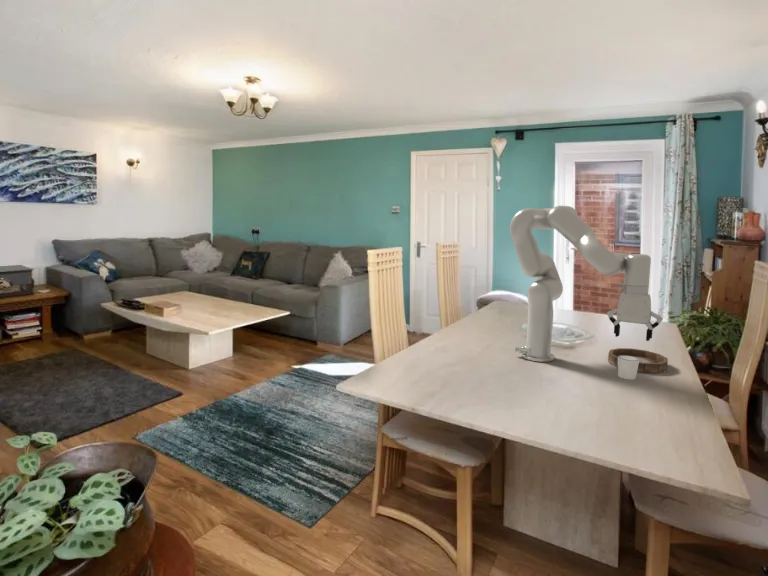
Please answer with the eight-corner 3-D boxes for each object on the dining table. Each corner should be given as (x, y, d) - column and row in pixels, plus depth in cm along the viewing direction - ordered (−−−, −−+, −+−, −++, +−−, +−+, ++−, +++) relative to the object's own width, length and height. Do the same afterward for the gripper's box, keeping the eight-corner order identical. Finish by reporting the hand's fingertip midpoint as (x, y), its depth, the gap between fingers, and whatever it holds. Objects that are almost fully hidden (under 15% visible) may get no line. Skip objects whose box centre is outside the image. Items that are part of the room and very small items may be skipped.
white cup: (640, 380, 159) (642, 361, 158) (619, 379, 161) (621, 360, 160) (633, 374, 166) (635, 355, 165) (613, 372, 167) (615, 354, 166)
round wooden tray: (623, 372, 167) (624, 363, 167) (599, 356, 187) (599, 347, 186) (678, 373, 167) (679, 364, 166) (648, 356, 187) (649, 348, 186)
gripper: (606, 289, 161) (603, 336, 163) (663, 293, 150) (659, 344, 152) (611, 286, 166) (608, 332, 169) (666, 290, 156) (662, 339, 158)
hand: (632, 338), depth 161 cm, fingers open, 9 cm apart
